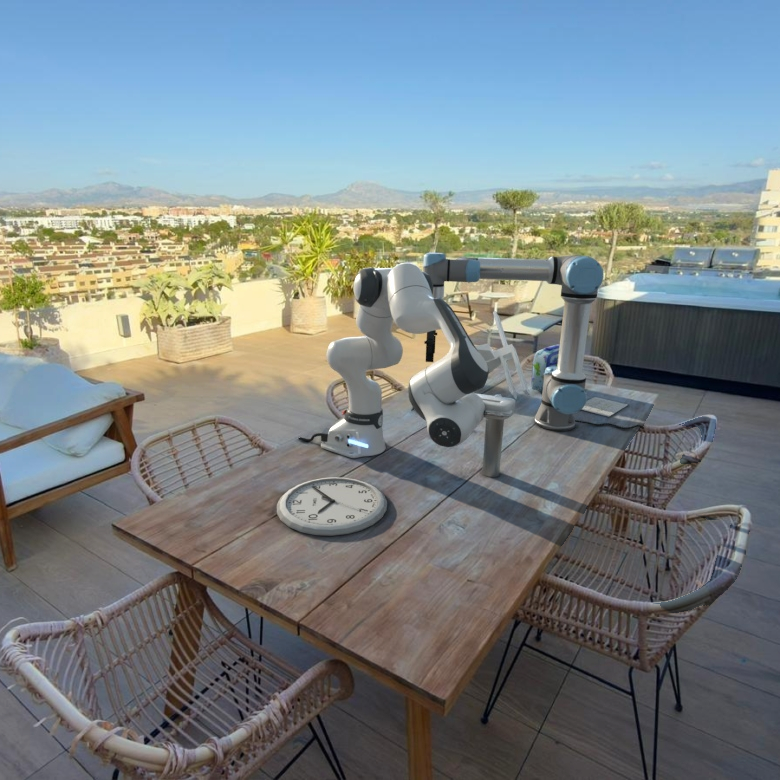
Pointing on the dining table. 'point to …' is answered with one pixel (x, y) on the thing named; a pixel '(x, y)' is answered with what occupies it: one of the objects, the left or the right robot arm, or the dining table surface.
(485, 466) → the bottle
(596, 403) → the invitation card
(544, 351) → the lunch box
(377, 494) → the wall clock
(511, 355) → the white plastic object
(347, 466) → the dining table surface
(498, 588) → the dining table surface
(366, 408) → the left robot arm
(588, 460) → the dining table surface
